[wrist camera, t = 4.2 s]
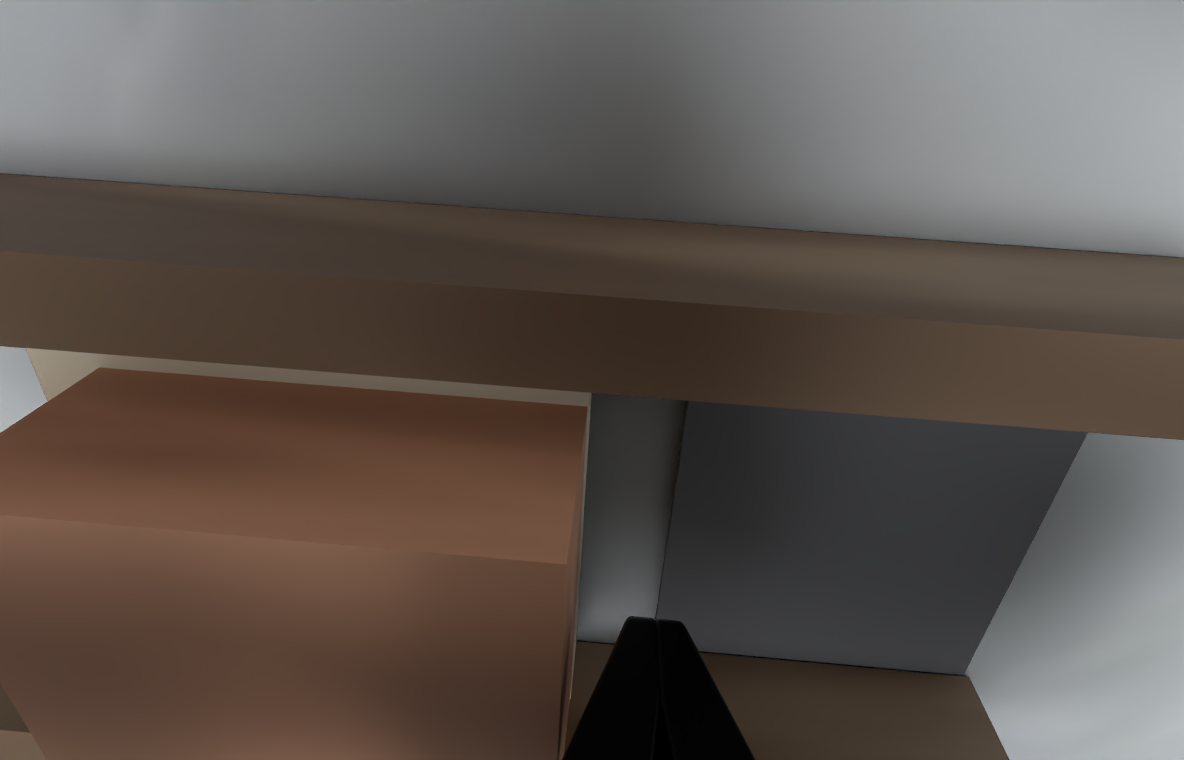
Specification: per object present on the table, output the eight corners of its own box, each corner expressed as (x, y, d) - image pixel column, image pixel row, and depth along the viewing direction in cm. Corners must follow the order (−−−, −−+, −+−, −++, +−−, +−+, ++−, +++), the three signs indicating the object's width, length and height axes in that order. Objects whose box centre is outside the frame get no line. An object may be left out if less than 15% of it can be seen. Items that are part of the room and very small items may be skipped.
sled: (575, 645, 13) (551, 883, 10) (192, 610, 14) (29, 829, 10) (595, 337, 10) (568, 526, 6) (82, 297, 10) (-229, 458, 7)
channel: (950, 711, 14) (1018, 867, 12) (65, 630, 15) (-56, 760, 12) (1187, 258, 9) (1398, 356, 7) (-171, 161, 10) (-459, 216, 7)
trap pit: (959, 666, 14) (963, 674, 14) (652, 638, 14) (652, 646, 14) (1118, 351, 10) (1126, 357, 10) (699, 319, 10) (700, 324, 10)
